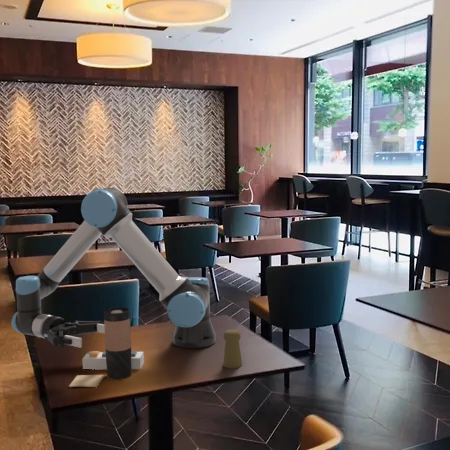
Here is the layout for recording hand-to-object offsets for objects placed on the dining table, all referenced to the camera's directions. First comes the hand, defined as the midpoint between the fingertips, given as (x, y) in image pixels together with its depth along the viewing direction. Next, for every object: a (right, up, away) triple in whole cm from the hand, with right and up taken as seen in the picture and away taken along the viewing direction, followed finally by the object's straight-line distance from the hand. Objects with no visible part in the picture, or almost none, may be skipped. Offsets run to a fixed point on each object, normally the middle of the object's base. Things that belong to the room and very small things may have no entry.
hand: (97, 336), depth 174 cm
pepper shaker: (+41, -10, +4) cm, 43 cm away
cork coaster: (-1, -12, -7) cm, 14 cm away
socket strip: (+4, -10, +5) cm, 12 cm away
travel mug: (+7, -11, -2) cm, 14 cm away
